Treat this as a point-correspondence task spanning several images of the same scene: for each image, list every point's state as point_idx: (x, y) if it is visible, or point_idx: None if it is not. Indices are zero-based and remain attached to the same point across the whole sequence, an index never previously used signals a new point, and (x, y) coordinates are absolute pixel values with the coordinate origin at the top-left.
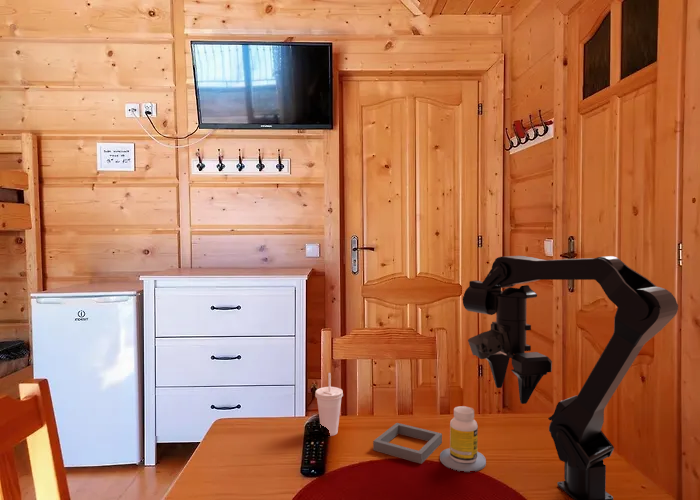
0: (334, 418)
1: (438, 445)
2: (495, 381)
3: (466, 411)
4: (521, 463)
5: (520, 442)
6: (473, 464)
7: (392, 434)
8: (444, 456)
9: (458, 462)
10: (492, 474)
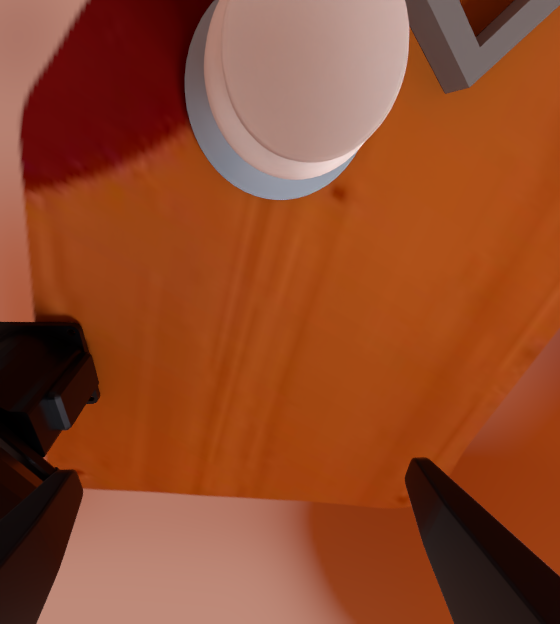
0: None
1: (427, 54)
2: (449, 498)
3: (271, 58)
4: (216, 300)
5: (332, 361)
6: None
7: None
8: None
9: None
10: (161, 166)
